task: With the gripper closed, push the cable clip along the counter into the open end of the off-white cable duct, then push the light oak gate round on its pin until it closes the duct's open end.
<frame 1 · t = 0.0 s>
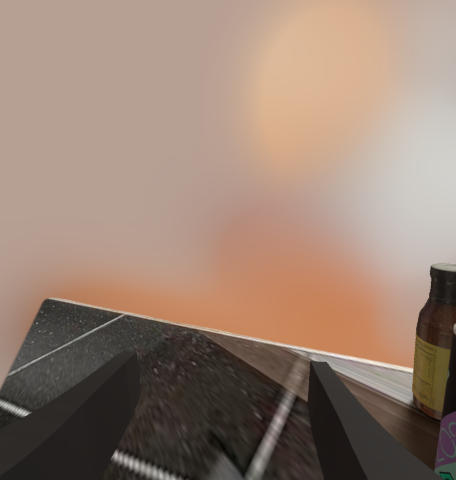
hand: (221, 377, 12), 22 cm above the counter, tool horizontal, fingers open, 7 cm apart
sauce bottle: (436, 409, 39), on the counter
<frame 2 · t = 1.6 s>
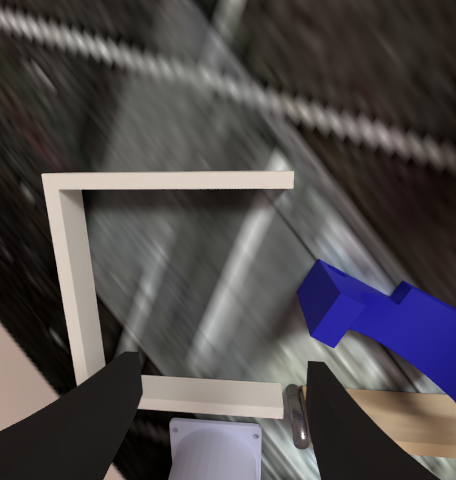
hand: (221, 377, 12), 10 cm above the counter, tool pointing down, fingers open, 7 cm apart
duct: (186, 290, 23), on the counter
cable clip: (381, 302, 22), on the counter
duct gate: (420, 421, 21), point 2 cm above the counter, hinge at 90.0°
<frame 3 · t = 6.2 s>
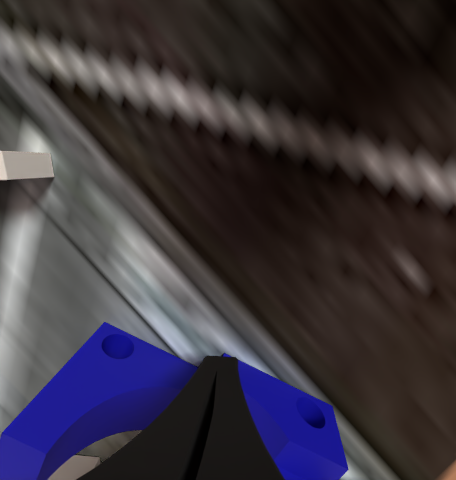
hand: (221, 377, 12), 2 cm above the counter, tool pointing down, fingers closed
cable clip: (206, 381, 15), on the counter
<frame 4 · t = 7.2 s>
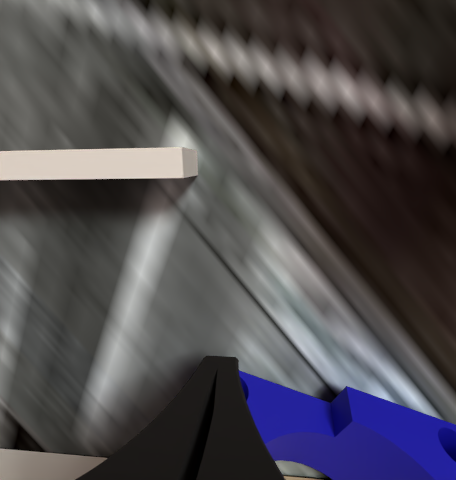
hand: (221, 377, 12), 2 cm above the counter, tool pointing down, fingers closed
duct: (61, 335, 15), on the counter
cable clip: (323, 406, 14), on the counter
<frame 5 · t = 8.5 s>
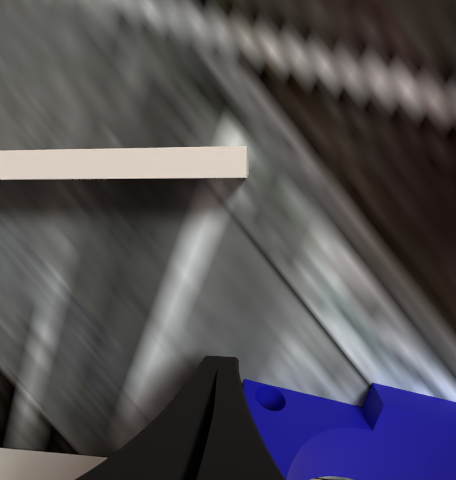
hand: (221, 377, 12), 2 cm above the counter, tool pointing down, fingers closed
duct: (100, 336, 15), on the counter
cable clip: (355, 412, 15), on the counter
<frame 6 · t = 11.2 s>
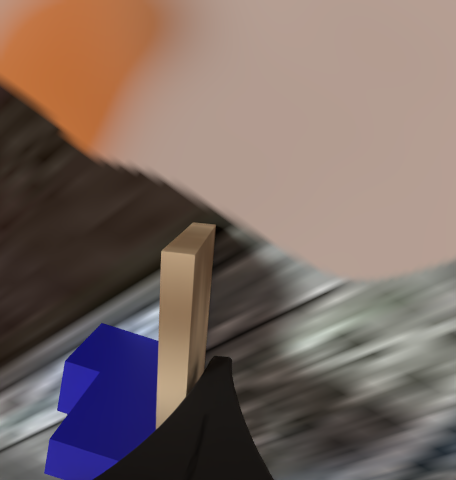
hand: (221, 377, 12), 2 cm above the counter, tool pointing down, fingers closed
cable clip: (124, 421, 17), on the counter
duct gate: (183, 412, 13), point 2 cm above the counter, hinge at 88.1°, touching gripper
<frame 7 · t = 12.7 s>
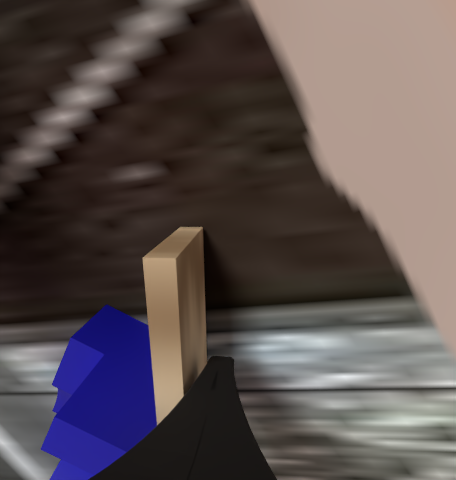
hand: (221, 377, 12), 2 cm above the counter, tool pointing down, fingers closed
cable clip: (109, 403, 16), on the counter
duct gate: (188, 417, 13), point 2 cm above the counter, hinge at 56.8°, touching gripper
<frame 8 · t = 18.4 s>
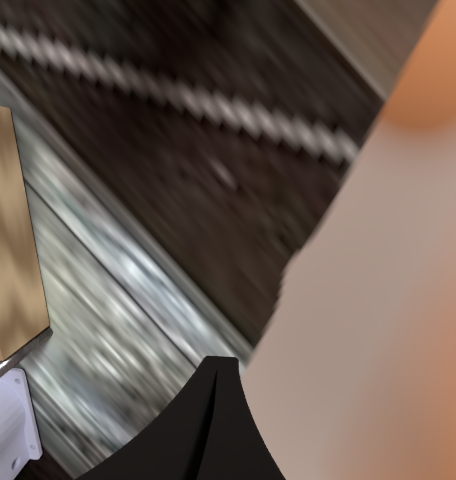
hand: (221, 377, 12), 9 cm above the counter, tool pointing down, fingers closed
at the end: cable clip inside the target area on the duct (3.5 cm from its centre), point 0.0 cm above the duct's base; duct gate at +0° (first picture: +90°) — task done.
